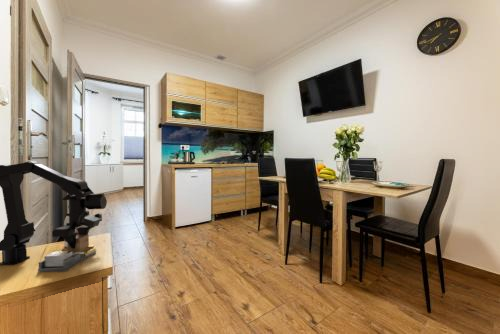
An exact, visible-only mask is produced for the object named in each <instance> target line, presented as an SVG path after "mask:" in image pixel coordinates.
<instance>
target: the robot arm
mask: <svg viewBox="0 0 500 334" xmlns="http://www.w3.org/2000/svg"><path fill="white" fill-rule="evenodd" d="M30 173H31V174H33V175H36V176H38V177H40V178H42V179H45V180H46V181H49V182H51V183H53V184H55V185H57V186H58V187H59V188H60V189H61V191H64V192H65V193H66V195H65V196H64V197H63V198H62V199H61V200H62V201H68V205H69V210H68V211H69V213H68V212H66V214H65V216H69V223H66V226H70V227H64V226H59V227H57V228H55V229H53V230H52V231H51V238H58V237H59V238H60V237H61V238H63V240H64V239H65V240H66V241H67V243H68V244H69V245H70V247H71V248H72V249H74V248H75V245H76V236H77V235H78V234H79V235H89V233H90V230H92V229H93V228H95V227H98V226H99V224H100V222H102V221H103V216H102V213H95V214H92V215H91V214H90V212H89V210H104V209H106V208H107V203H108V200H107V197H106V196H105V193H104V192H101V193H94V191H93V190H92V189H91V188H90V187H89V185H88V182H87V181H85V180H82V179H79V178H75V177H70V176H67V175H65V174H62V173H61V172H59V171H56V170H54V169H52V168H50V167H48V166H45V165H44V164H42V163H40V162H39V161H25V162H20V163H15V164H0V188H1V190H2V195H3V196H2V197H3V202H4V203H3V204H4V207H5V214H6V220H7V224H6V226H5V229H4V230H3V239H1V240H0V252H1V255H2V256H1V258H2V259H1V260H2V261H1V262H0V266H7V265H9V266H10V265H16V264H17V265H18V264H19V263H21V262H23V261H25V260H27V259H29V258H30V257H31V256H30V255H29V256H28V254H27V253H28V252H27V246H26V244H28V243H30V241H31V239H32V238H33V236H34V234H35V232H36V229H35V223H34V222H33V221H32V222H29V221H28V220H27V218H26V215H25V209H24V202H23V196H22V190H21V184H22V182H23V180H24V177H25V176H24V175H26V174H27V175H28V174H30ZM76 229H77V230H78V232H76Z"/></svg>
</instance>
